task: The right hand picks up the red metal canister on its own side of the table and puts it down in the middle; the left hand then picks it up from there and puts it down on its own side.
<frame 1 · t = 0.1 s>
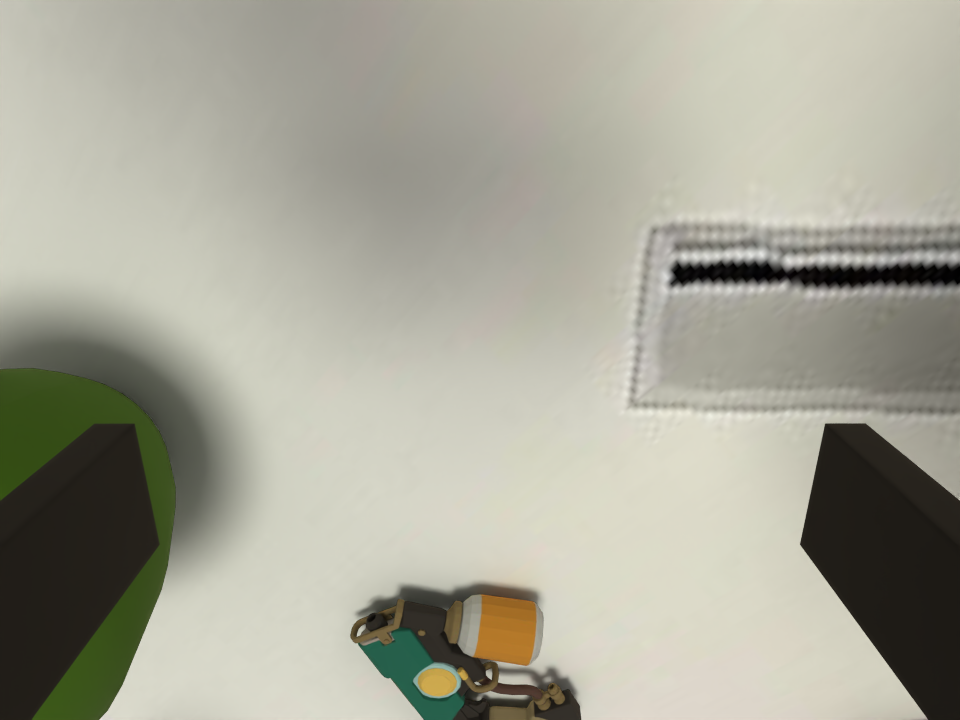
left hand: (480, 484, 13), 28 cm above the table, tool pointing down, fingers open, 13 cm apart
spray gun: (472, 661, 51), on the table
vase: (99, 439, 44), on the table
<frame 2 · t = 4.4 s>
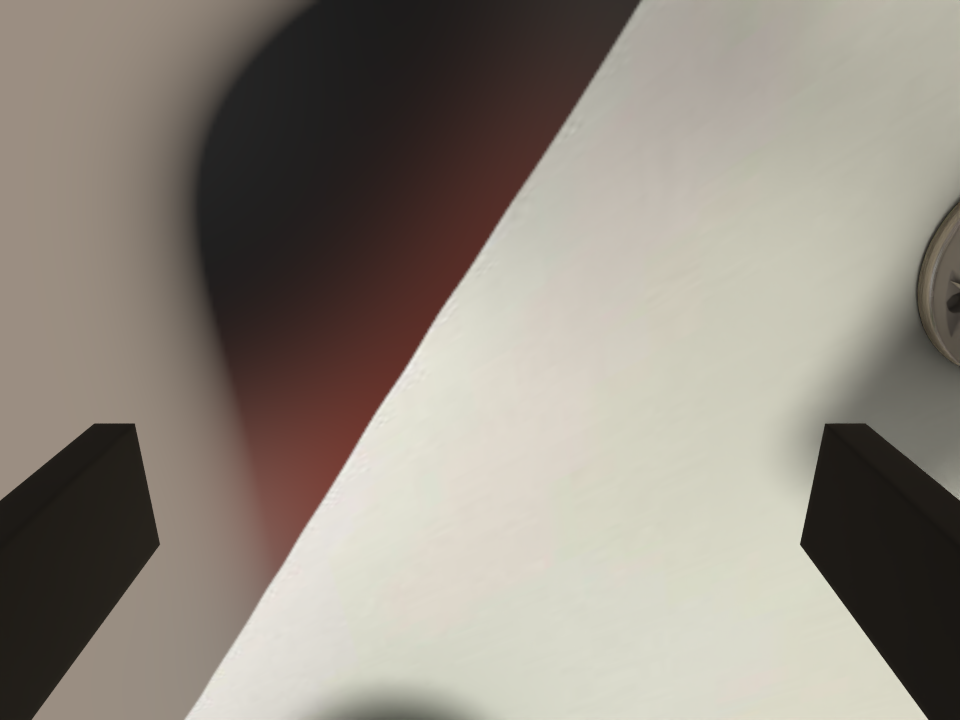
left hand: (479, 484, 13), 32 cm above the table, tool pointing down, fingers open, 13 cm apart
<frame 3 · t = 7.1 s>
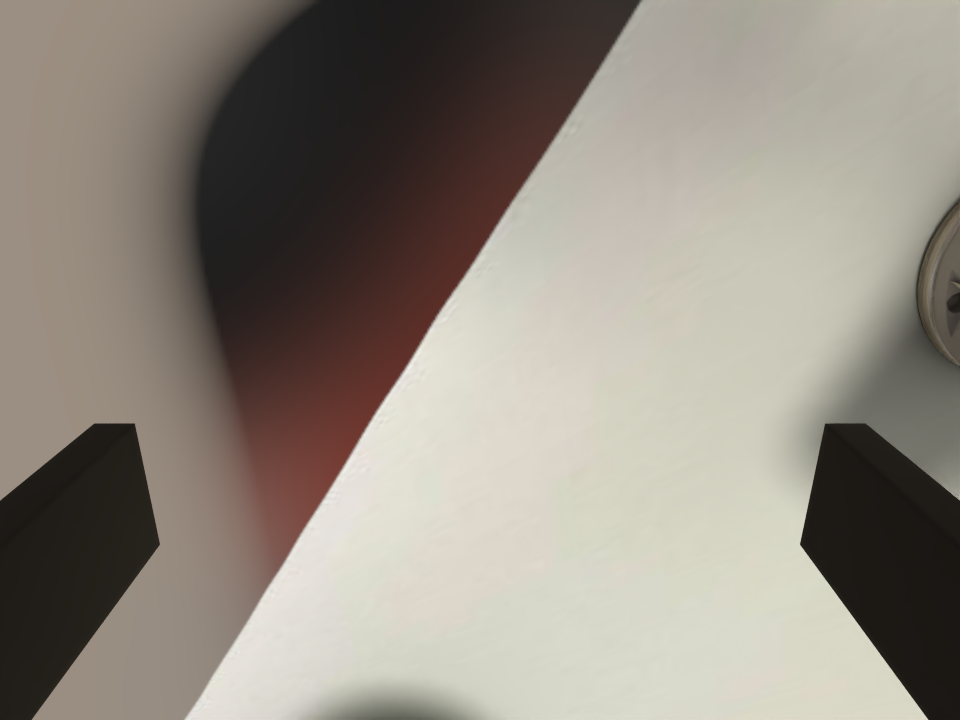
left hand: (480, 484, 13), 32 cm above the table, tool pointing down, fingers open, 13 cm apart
when the right hand's fingers open (4 cm above the table, at t = 10.1 s): canister drops 2 cm, on the table.
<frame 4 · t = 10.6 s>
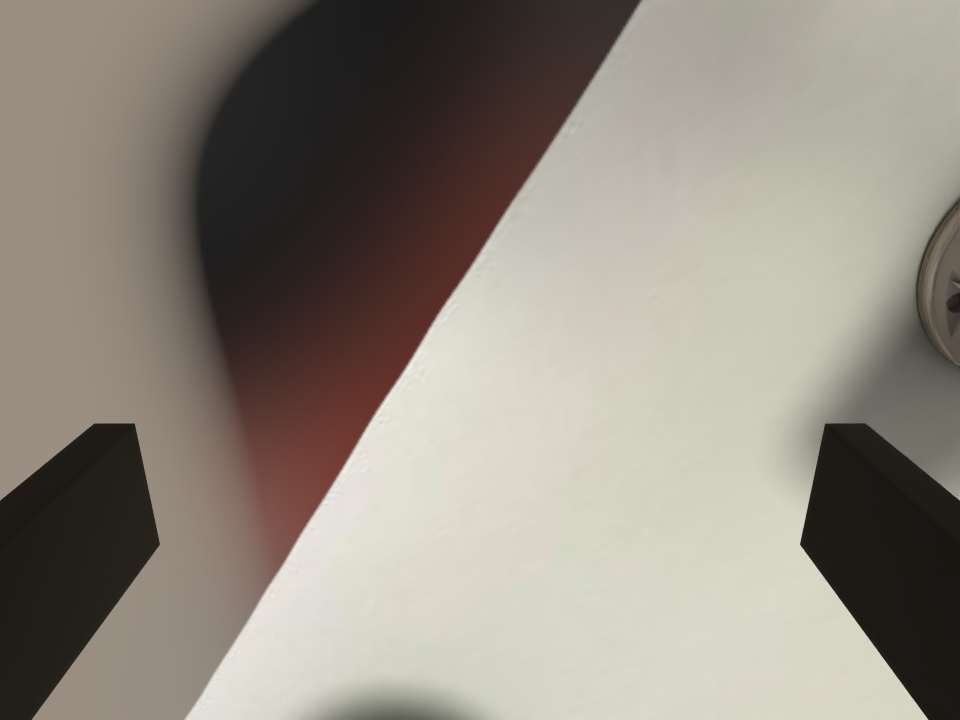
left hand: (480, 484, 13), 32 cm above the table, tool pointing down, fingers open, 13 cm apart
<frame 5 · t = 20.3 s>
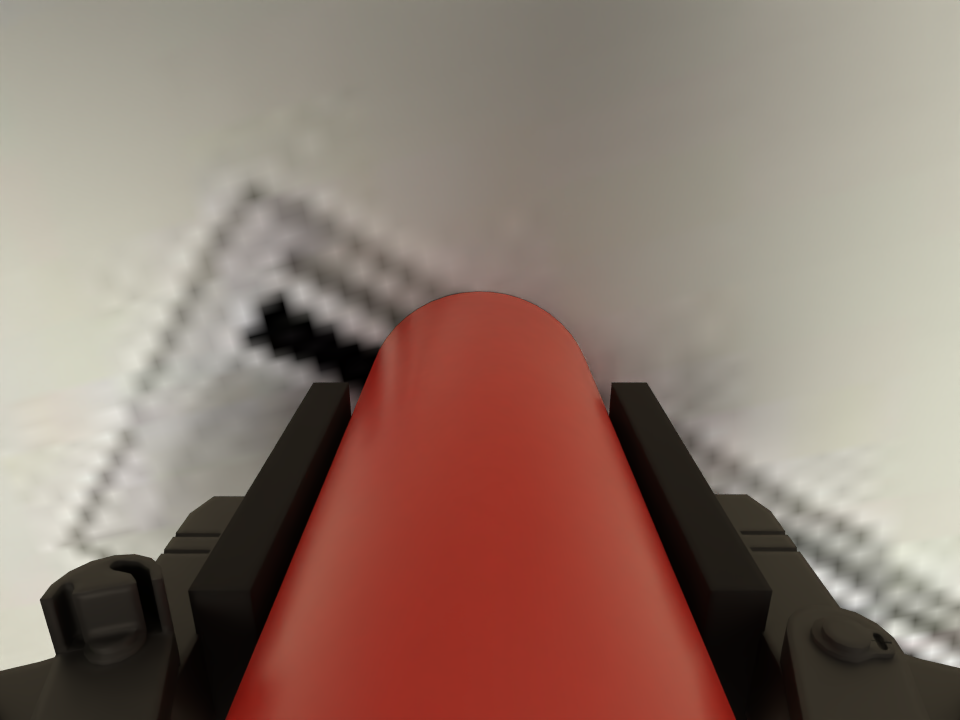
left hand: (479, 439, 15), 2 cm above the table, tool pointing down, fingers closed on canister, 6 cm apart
canister: (480, 398, 17), on the table, touching left hand
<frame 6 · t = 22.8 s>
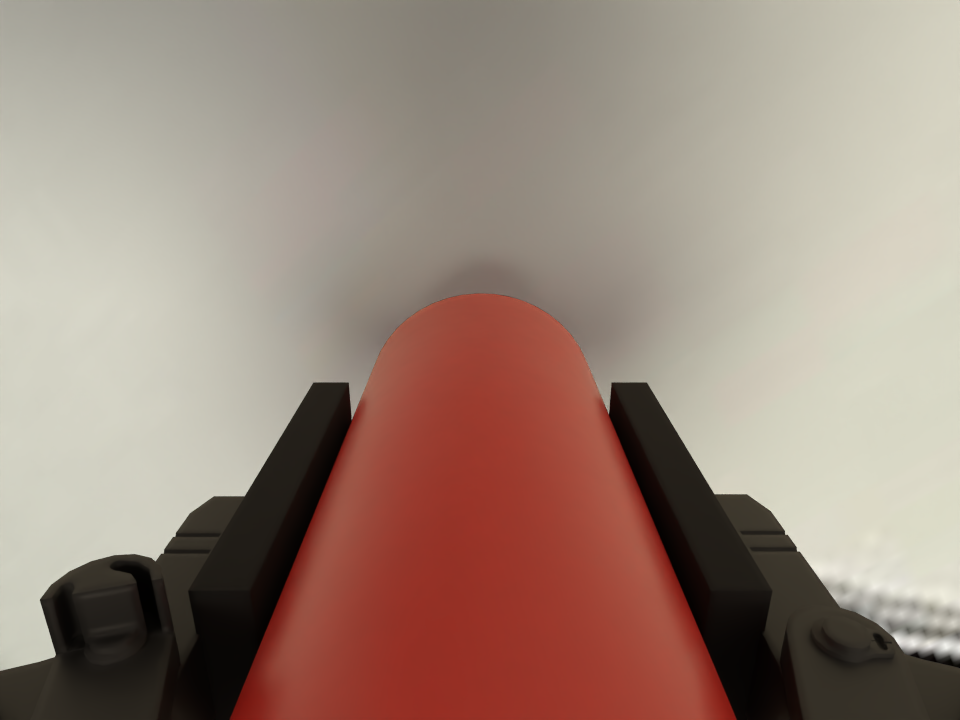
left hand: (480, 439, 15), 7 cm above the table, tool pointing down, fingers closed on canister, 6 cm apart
canister: (481, 400, 17), point 5 cm above the table, touching left hand
when the left hand's fingers open (4 cm above the table, at t = 25.6 s): canister drops 2 cm, on the table.
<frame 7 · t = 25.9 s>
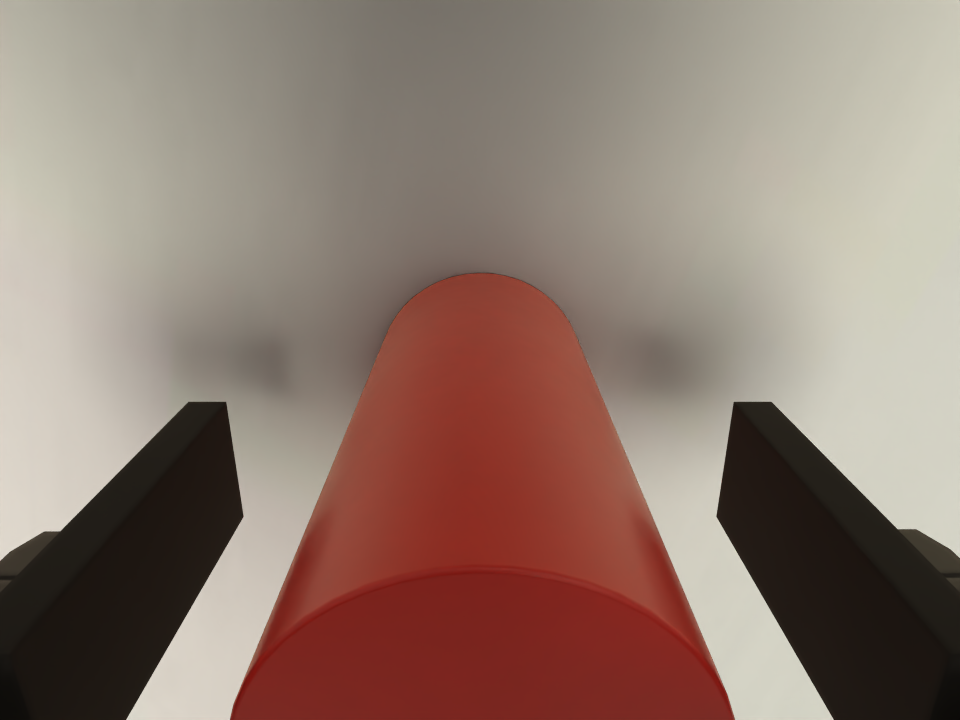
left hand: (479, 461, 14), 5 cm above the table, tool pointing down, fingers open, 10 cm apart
canister: (480, 370, 19), on the table
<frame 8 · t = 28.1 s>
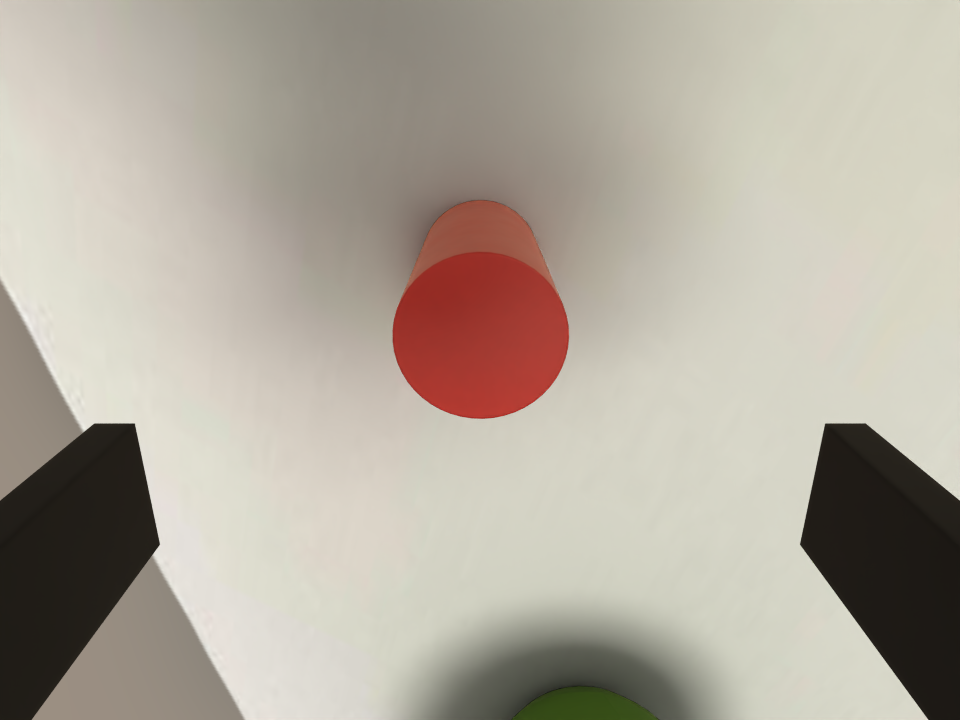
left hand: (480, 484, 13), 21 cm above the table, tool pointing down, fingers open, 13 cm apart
canister: (480, 258, 32), on the table
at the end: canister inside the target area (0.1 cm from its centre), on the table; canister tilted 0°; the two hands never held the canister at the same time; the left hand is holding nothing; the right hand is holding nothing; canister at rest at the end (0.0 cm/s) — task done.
